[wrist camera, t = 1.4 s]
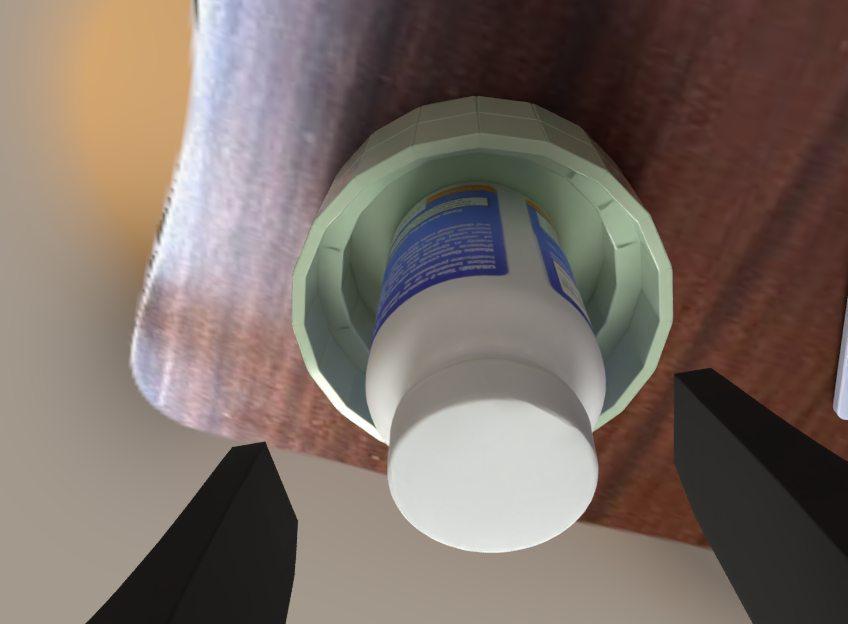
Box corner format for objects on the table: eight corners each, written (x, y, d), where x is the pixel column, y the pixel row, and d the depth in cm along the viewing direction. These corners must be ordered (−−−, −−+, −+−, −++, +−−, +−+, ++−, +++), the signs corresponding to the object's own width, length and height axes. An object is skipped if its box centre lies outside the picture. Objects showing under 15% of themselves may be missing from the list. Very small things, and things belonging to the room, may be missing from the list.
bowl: (638, 355, 23) (675, 443, 19) (363, 392, 24) (345, 481, 20) (625, 61, 18) (670, 97, 14) (283, 127, 20) (239, 177, 16)
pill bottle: (369, 304, 22) (313, 541, 13) (420, 151, 19) (390, 326, 11) (523, 351, 22) (561, 606, 14) (593, 209, 20) (692, 418, 11)
